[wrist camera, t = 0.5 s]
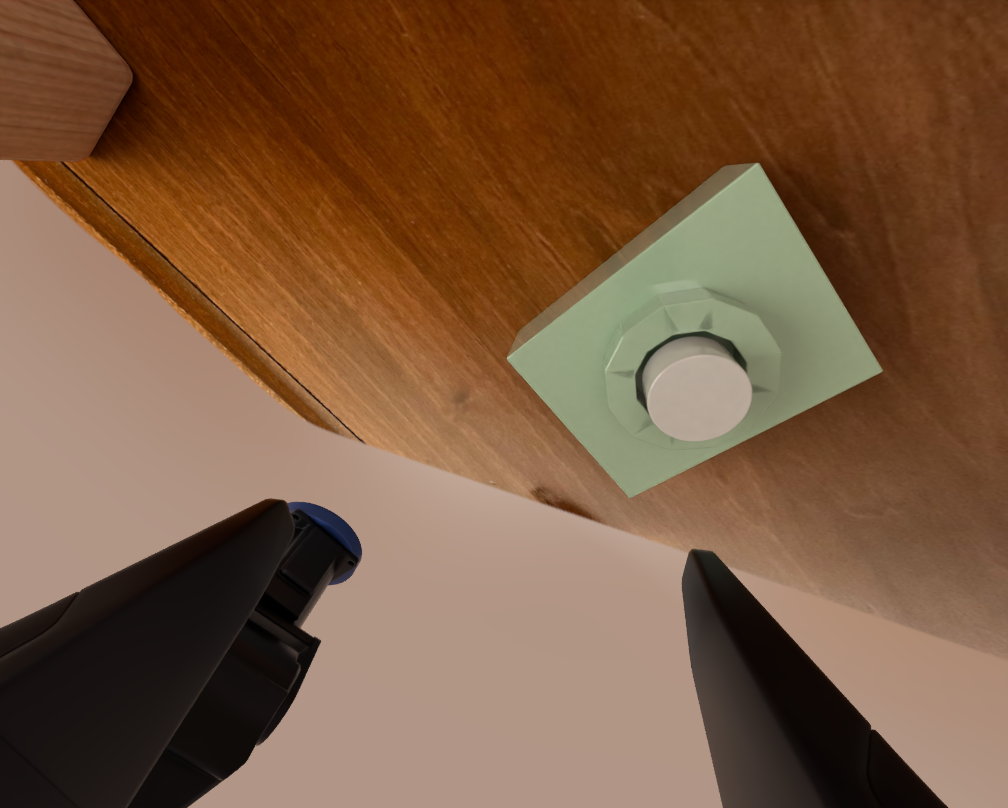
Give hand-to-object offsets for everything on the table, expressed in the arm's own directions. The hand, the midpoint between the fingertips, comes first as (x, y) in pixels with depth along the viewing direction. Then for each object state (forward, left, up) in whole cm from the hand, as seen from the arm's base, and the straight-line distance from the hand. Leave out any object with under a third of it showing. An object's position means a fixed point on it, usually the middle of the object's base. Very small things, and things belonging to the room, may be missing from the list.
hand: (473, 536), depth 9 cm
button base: (+5, -4, -16) cm, 17 cm away
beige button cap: (+5, -4, -10) cm, 12 cm away
